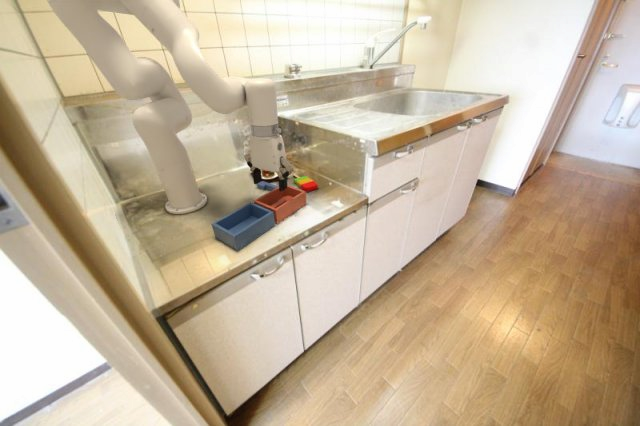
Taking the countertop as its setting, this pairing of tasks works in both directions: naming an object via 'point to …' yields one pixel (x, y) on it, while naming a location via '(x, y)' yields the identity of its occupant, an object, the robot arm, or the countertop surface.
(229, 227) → the blue bin
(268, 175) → the hamburger
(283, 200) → the terracotta spoon
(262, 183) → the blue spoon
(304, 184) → the popsicle
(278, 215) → the terracotta bin
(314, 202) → the countertop surface
